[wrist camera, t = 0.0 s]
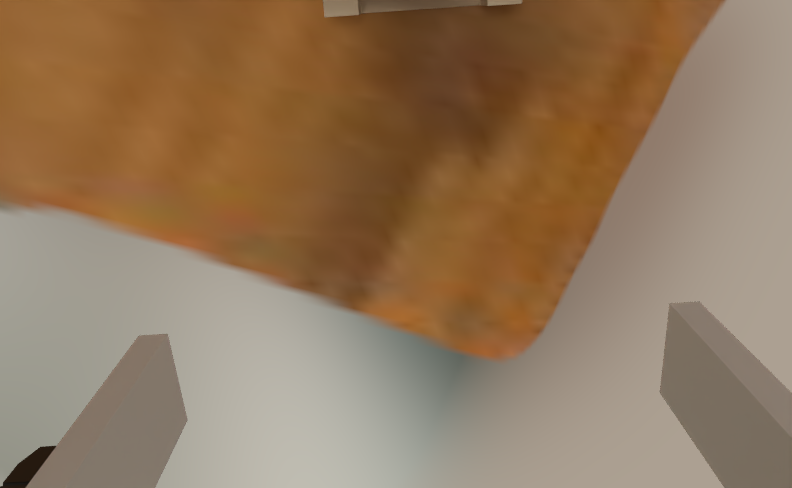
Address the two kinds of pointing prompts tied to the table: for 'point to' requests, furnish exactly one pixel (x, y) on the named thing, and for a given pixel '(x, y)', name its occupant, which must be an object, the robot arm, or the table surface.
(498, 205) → the table surface
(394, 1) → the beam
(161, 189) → the table surface
